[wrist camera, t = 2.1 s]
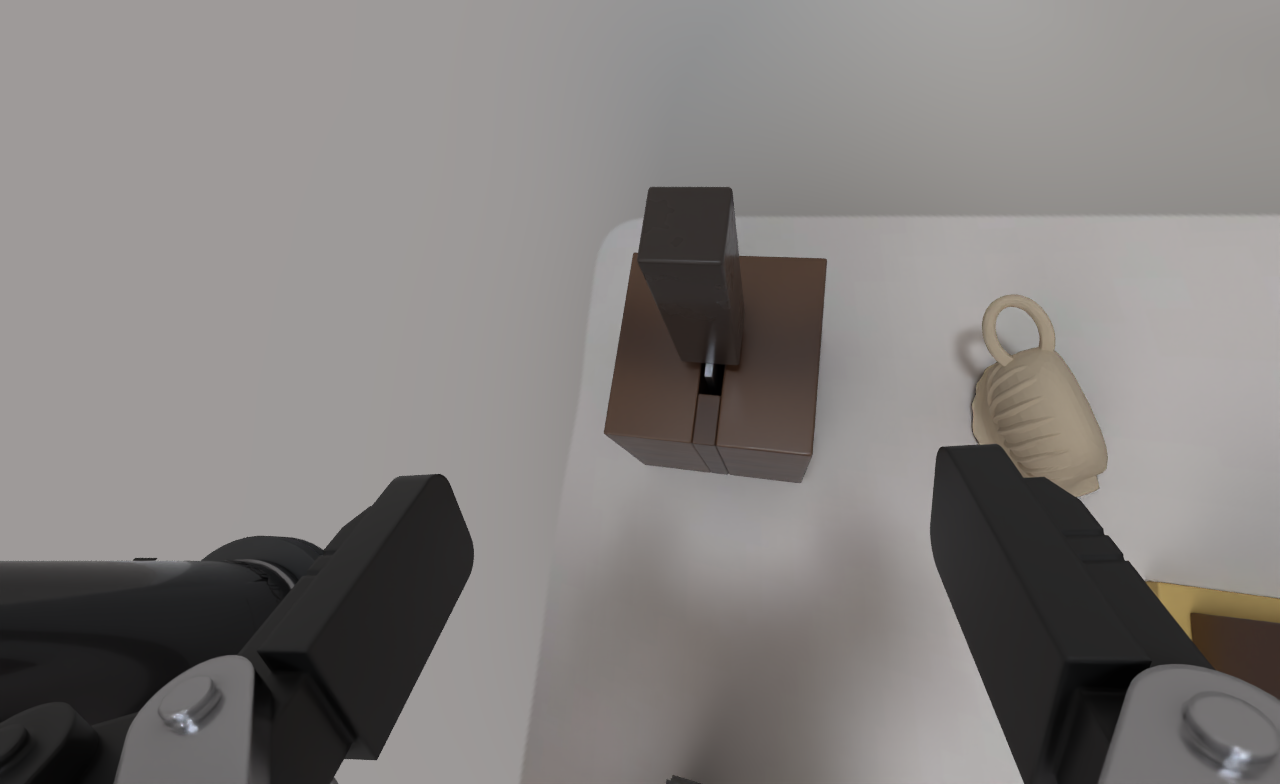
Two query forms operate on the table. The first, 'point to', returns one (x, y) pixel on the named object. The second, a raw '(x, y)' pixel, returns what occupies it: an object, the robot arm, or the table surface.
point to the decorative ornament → (1037, 408)
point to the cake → (1229, 630)
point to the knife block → (725, 379)
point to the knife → (695, 274)
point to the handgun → (680, 781)
